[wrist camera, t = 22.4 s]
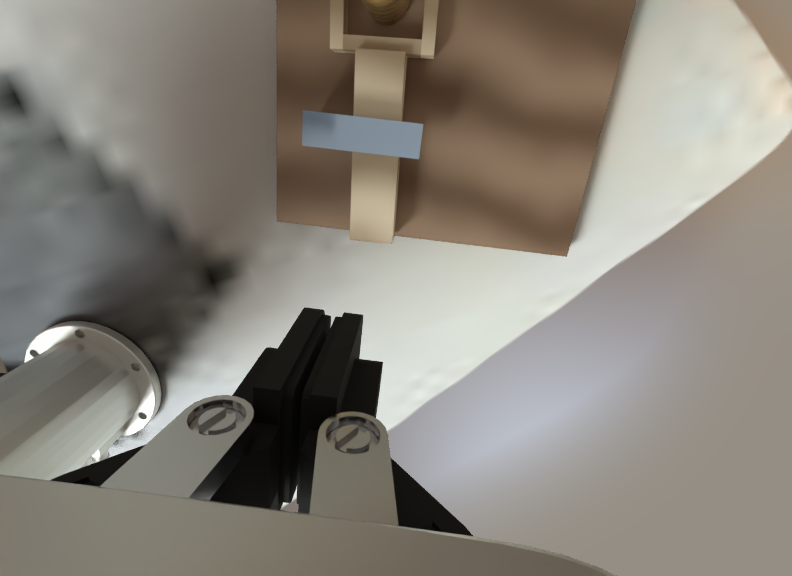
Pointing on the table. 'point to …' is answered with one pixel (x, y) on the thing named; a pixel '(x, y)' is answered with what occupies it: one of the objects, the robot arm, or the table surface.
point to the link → (378, 114)
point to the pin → (387, 10)
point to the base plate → (460, 116)
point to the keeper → (361, 134)
